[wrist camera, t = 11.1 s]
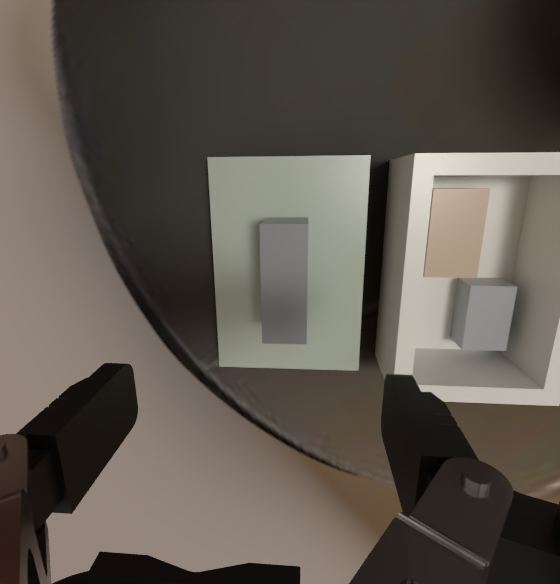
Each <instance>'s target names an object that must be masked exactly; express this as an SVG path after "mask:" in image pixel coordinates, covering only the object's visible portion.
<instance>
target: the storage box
mask: <svg viewBox="0 0 560 584" xmlns="http://www.w3.org/2000/svg"><path fill="white" fill-rule="evenodd" d="M375 356H376V359H377V362H378V364H379V367H380V370H381V372H382V375H383V377H384V380H385V377H386V374H403V375H412V376H413V377H414V379H415V381H416V383H417V385H418V387H419V388H420V390H421V392H432V393H433V394H434V395H435V396H437V397H438V398H439V399H441V400H442V401H445V402H470V403H496V404H521V405H547V406H559V404H560V152H533V153H414V154H411V155H407V156H403V157H400V158H396V159H392V160H390V162H389V176H388V189H387V202H386V215H385V228H384V242H383V255H382V268H381V281H380V294H379V307H378V321H377V334H376V347H375Z"/></svg>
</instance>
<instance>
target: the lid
mask: <svg viewBox="0 0 560 584" xmlns="http://www.w3.org/2000/svg"><path fill="white" fill-rule="evenodd" d="M370 158H371V155H348V156H269V157H207V159H208V176H209V194H210V211H211V228H212V245H213V263H214V280H215V297H216V314H217V332H218V349H219V366H220V367H253V368H287V369H321V370H356V371H358V369H359V351H360V334H361V316H362V298H363V281H364V263H365V246H366V228H367V211H368V193H369V176H370Z"/></svg>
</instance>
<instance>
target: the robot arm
mask: <svg viewBox="0 0 560 584" xmlns="http://www.w3.org/2000/svg"><path fill="white" fill-rule="evenodd" d="M137 414H138V404H137V396H136V388H135V382H134V373H133V368H132V366H131V365H129V364H117V363H105V364H103V365H102V366H101V367H100V368H99V369H97V371H95V372H94V373H93V374H92V375H91V376H90V377H89V378H85V379H84V380H82V381H80V382H78V383H76V384H74V385H72V386H70V387H69V388H68V389H67V390H66V391H64V392H63V393H62V394H61V395H60V396H59V398H58V399H56V400H54V401H53V402H52V403H51V404H50V405H49V407H46V408H45V409H44V410H43V411H42V412H40V413H39V414H38V415H37V416H36V417H35V418H34V419H32V420H31V421H30V422H29V423H28V424H27V425H26V426H24V427H23V428H22V429H21V430H20V431H19V432H18V433H16V434H5V435H0V584H51V571H50V554H49V537H48V527H47V524H46V519H47V518H48V517H49V516H50V514H51V513H52V512H54V513H70V514H72V513H73V511H74V510H75V508H76V507H77V506H78V504H79V503H80V501H81V500H82V498H83V497H84V496H85V494H86V493H87V491H88V490H89V488H90V487H91V486H92V484H93V483H94V482H95V480H96V479H97V477H98V476H99V474H100V473H101V472H102V470H103V469H104V467H105V466H106V464H107V463H108V462H109V460H110V459H111V458H112V456H113V454H114V453H115V452H116V450H117V449H118V448H119V446H120V445H121V443H122V442H123V441H124V439H125V438H126V436H127V435H128V434H129V432H130V431H131V429H132V428H133V426H134V424H135V422H136V419H137ZM381 431H382V438H383V442H384V446H385V450H386V453H387V457H388V460H389V464H390V468H391V471H392V475H393V478H394V482H395V486H396V489H397V493H398V496H399V500H400V503H401V507H402V511H403V512H401V513H399V514H397V515H396V517H395V518H394V519H393V520H392V522H391V523H390V525H389V526H388V528H387V529H386V531H385V532H384V534H383V535H382V536H381V538H380V539H379V541H378V543H377V544H376V545H375V547H374V548H373V550H372V551H371V553H370V554H369V555H368V557H367V558H366V560H365V561H364V563H363V564H362V566H361V567H360V569H359V570H358V572H357V573H356V574H355V576H354V577H353V579H352V580H351V582H350V583H349V584H560V502H559V505H558V504H554V503H551V502H548V501H544V500H541V499H537V498H534V497H530V496H527V495H524V494H521V493H518V492H516V491H514V490H513V488H512V486H511V484H510V482H509V481H508V480H507V478H506V477H505V476H504V475H503V474H502V473H501V472H499V471H498V470H497V469H495V468H494V467H492V466H490V465H488V464H486V463H484V462H482V461H479V460H478V458H477V456H476V455H475V453H474V451H473V450H472V448H471V446H470V445H469V443H468V441H467V440H466V438H465V436H464V435H463V433H462V431H461V430H460V428H459V427H458V426H457V423H456V421H455V419H454V418H453V417H452V416H451V413H450V411H449V409H448V408H447V406H446V404H445V403H444V402H443V401H442V400H441V399H439V398H438V397H437V396H435V395H434V394H433V393H432V392H421V390H420V388H419V387H418V385H417V383H416V381H415V379H414V377H413V376H412V375H403V374H386V377H385V383H384V394H383V404H382V415H381ZM53 584H300V567H297V566H284V565H271V564H257V563H247V564H241V565H236V566H230V567H224V568H219V569H214V570H208V571H203V572H190V571H187V570H185V569H182V568H179V567H177V566H174V565H171V564H169V563H166V562H164V561H161V560H158V559H156V558H153V557H150V556H148V555H137V554H124V553H110V552H99V554H98V556H97V558H96V559H95V561H94V563H93V565H92V566H91V568H90V570H89V571H87V572H83V573H79V574H76V575H72V576H69V577H67V578H64V579H62V580H59V581H57V582H55V583H53Z"/></svg>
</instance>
